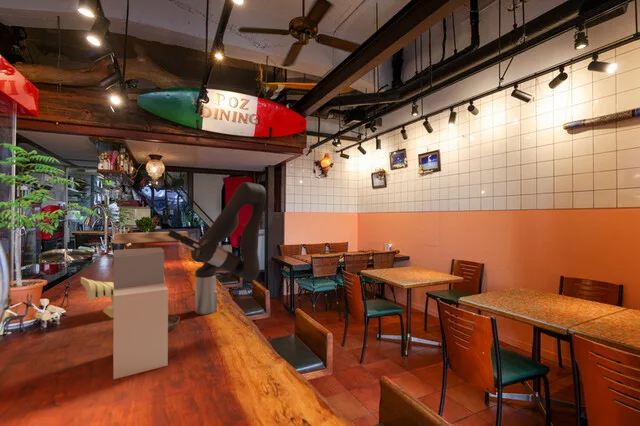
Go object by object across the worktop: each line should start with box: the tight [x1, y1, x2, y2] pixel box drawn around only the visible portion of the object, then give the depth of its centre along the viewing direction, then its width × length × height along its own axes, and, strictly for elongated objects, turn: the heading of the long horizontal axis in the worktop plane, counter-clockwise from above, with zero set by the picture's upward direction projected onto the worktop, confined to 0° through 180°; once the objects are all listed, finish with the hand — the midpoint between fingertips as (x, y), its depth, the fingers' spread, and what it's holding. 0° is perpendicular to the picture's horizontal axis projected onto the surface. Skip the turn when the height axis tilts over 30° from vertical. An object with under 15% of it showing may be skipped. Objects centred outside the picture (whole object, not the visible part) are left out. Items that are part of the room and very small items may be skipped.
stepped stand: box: [112, 247, 169, 380], centre depth 97 cm, size 14×18×35 cm
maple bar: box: [113, 230, 189, 245], centre depth 103 cm, size 22×3×3 cm, turn 125°
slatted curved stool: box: [80, 275, 166, 319], centre depth 142 cm, size 30×16×18 cm, turn 140°
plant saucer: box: [168, 314, 181, 332], centre depth 123 cm, size 18×18×3 cm
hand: (168, 232), depth 106 cm, fingers closed on maple bar, 3 cm apart
